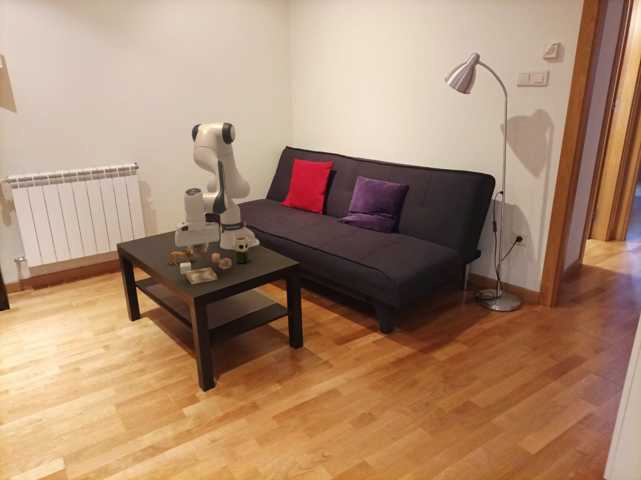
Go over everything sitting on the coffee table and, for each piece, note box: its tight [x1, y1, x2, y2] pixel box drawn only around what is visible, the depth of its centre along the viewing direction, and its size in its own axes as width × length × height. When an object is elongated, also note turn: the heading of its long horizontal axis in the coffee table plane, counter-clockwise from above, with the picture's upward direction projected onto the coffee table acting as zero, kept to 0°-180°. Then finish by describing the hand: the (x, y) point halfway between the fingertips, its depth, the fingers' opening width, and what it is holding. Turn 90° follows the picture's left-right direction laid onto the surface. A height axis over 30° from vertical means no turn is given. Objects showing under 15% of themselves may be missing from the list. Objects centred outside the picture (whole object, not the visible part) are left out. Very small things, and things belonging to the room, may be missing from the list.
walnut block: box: [192, 243, 206, 259], centre depth 227 cm, size 4×4×5 cm
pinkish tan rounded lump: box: [211, 252, 221, 264], centre depth 252 cm, size 4×4×4 cm
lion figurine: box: [166, 245, 193, 266], centre depth 249 cm, size 15×5×9 cm, turn 118°
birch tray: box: [185, 267, 218, 285], centre depth 231 cm, size 12×12×2 cm
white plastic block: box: [179, 261, 192, 275], centre depth 238 cm, size 5×5×4 cm
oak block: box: [218, 257, 232, 270], centre depth 244 cm, size 4×4×4 cm
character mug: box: [231, 236, 251, 264], centre depth 249 cm, size 11×7×13 cm, turn 125°
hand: (198, 252), depth 228 cm, fingers closed on walnut block, 4 cm apart
